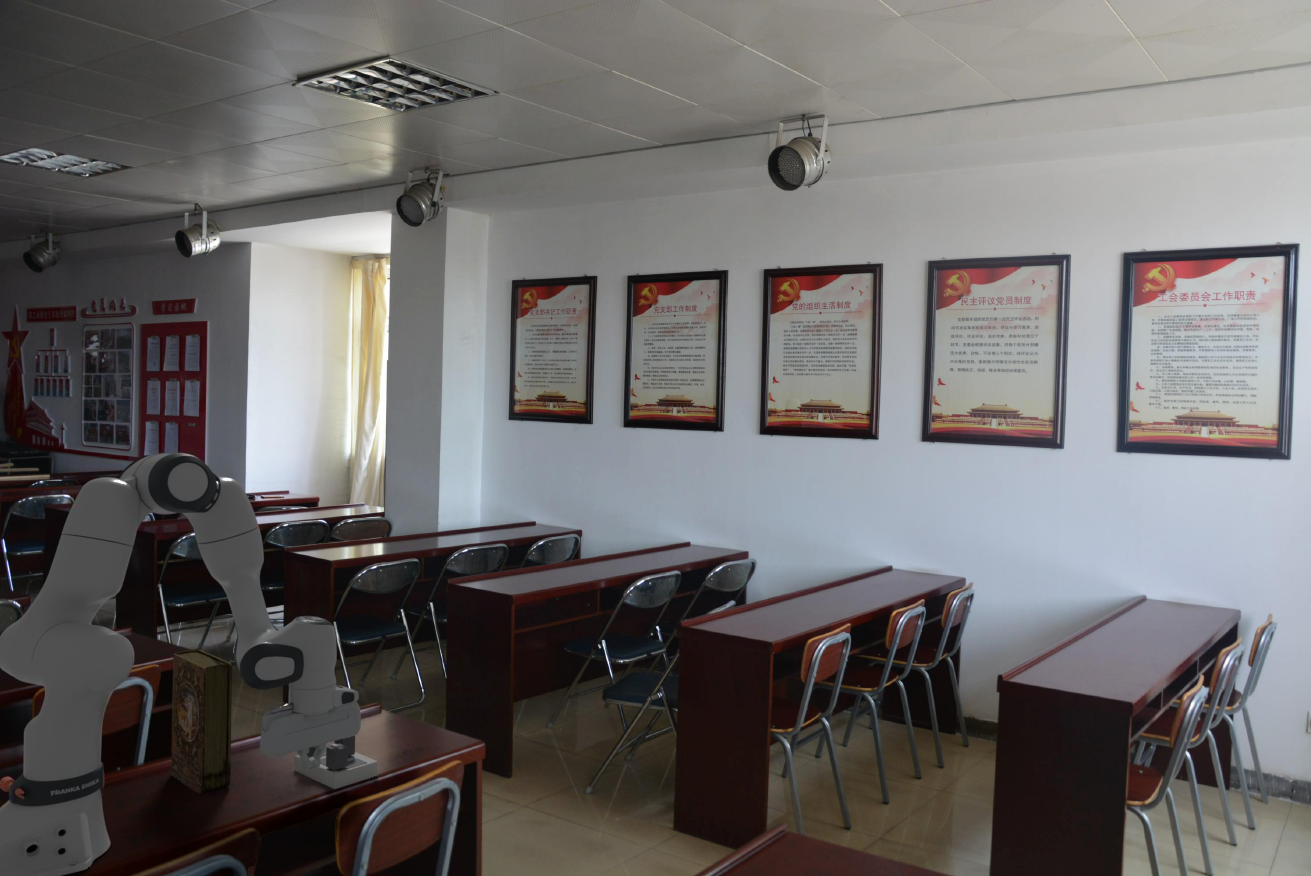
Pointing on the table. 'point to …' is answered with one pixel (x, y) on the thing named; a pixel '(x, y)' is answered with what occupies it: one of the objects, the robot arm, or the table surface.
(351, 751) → the tab middle
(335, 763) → the tab
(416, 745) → the table surface
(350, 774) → the switch panel
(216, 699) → the book
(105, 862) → the table surface
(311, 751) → the tab
